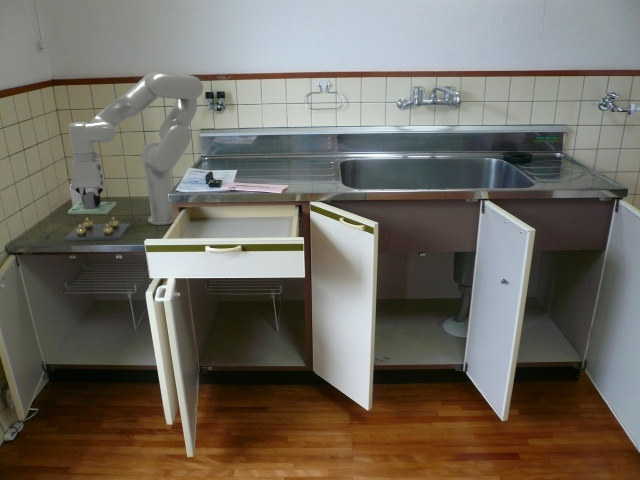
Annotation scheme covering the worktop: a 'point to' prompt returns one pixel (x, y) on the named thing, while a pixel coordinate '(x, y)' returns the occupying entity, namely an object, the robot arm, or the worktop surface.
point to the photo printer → (78, 195)
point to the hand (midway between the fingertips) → (92, 204)
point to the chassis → (98, 231)
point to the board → (92, 211)
